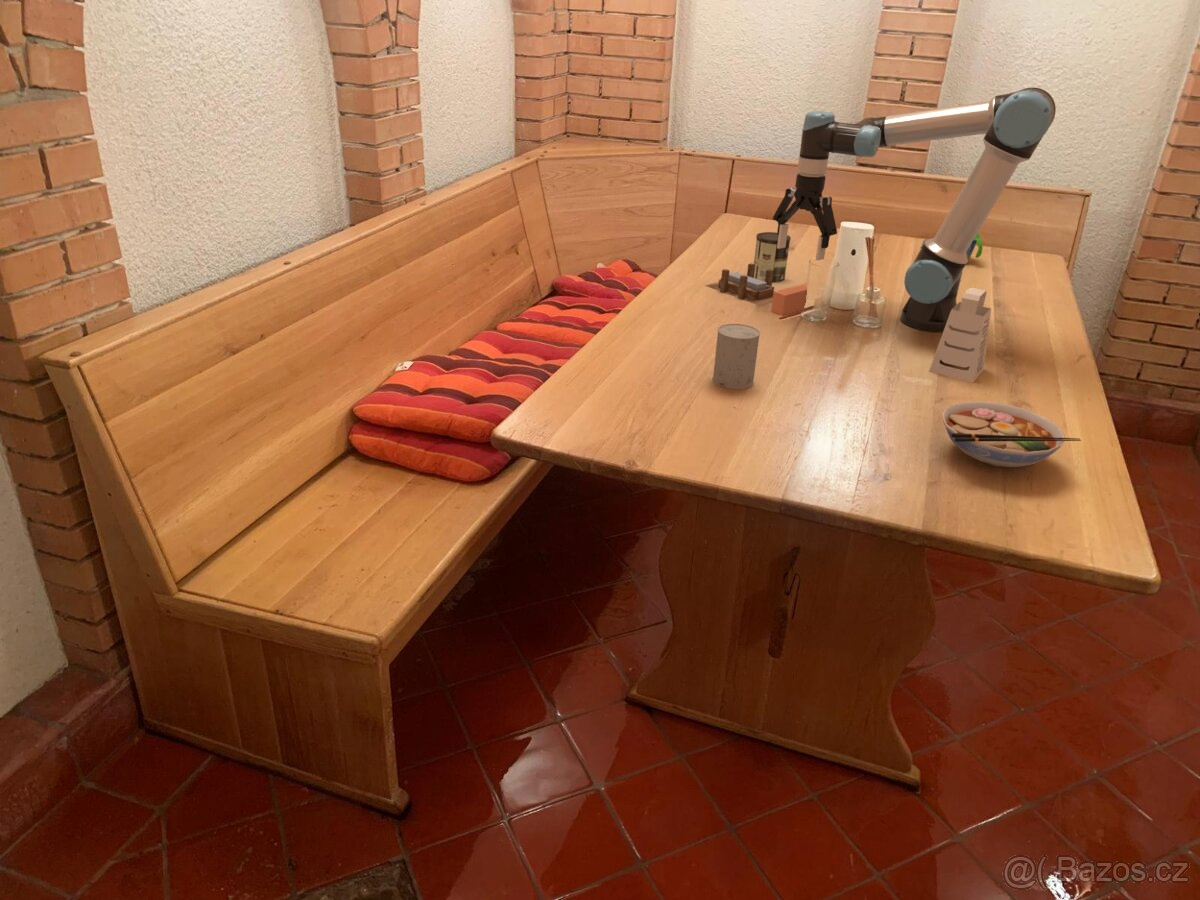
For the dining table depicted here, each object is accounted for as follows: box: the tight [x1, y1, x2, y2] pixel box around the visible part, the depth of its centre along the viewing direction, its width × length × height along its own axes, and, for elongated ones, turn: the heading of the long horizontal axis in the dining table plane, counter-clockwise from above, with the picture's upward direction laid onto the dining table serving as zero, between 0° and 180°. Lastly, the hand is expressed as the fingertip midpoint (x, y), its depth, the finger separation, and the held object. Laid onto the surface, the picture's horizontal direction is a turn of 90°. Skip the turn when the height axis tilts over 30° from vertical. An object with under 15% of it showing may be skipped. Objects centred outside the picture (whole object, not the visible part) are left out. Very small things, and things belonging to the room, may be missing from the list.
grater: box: [928, 287, 992, 383], centre depth 218 cm, size 10×10×20 cm
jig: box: [704, 262, 775, 306], centre depth 267 cm, size 22×13×8 cm, turn 39°
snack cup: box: [966, 232, 983, 264], centre depth 308 cm, size 16×10×10 cm
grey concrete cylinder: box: [712, 323, 761, 390], centre depth 209 cm, size 10×10×12 cm
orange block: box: [771, 282, 808, 320], centre depth 255 cm, size 4×14×7 cm, turn 130°
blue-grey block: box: [728, 272, 767, 291], centre depth 267 cm, size 12×4×4 cm, turn 39°
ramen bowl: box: [941, 400, 1082, 468], centre depth 180 cm, size 25×23×8 cm
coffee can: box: [753, 231, 792, 283], centre depth 279 cm, size 10×10×14 cm
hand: (800, 253), depth 249 cm, fingers open, 13 cm apart
